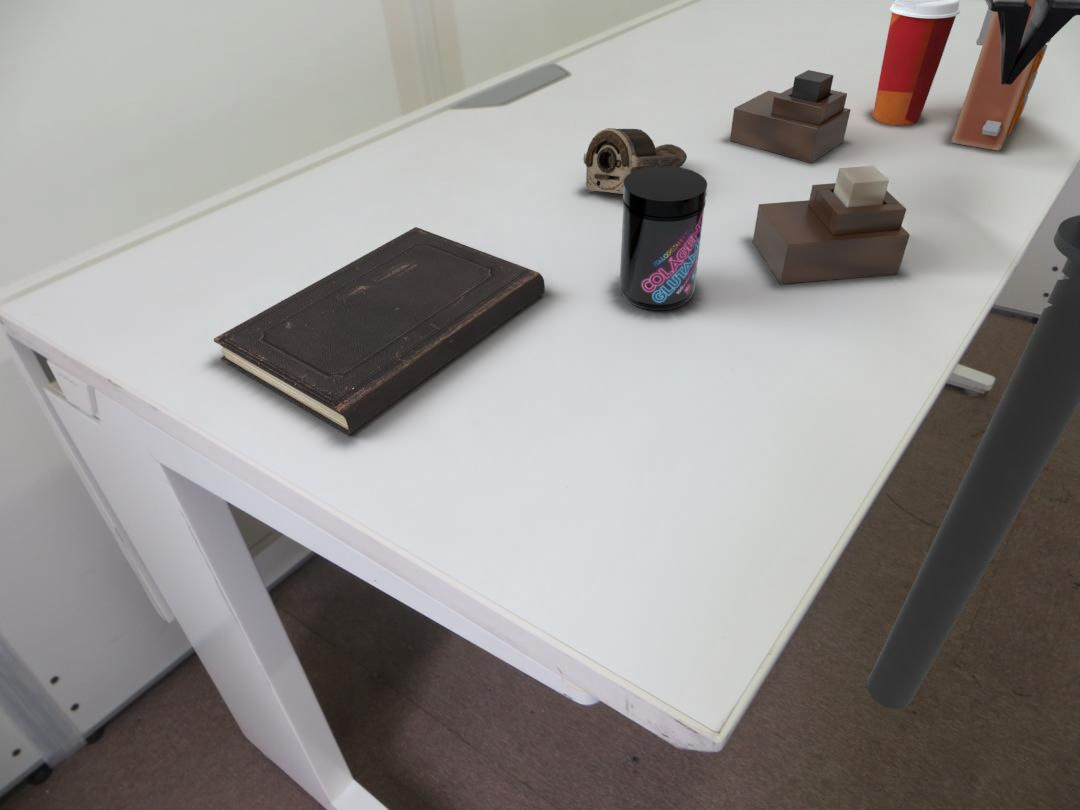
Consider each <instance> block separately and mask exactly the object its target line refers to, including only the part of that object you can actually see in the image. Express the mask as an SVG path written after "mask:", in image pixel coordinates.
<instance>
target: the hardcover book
mask: <svg viewBox="0 0 1080 810" xmlns="http://www.w3.org/2000/svg"><path fill="white" fill-rule="evenodd" d="M545 289H546V285H545V278H544V277H543V275H542V274H541V272H538V271H536V270H533V269H530V268H528V267H525V266H523V265H520V264H517V263H514V262H511V261H509V260H506V259H504V258H501V257H498V256H495V255H492V254H490V253H487V252H485V251H482V250H479V249H477V248H474V247H471V246H469V245H465V244H463V243H460V242H457V241H455V240H453V239H451V238H446V237H445V236H441V235H439V234H436V233H433V232H431V231H428V230H425V229H422V228H419V227H417V226H414V227H413V228H412V229H409V230H408V231H406V232H403V233H402V234H400V235H398V236H396V237H395V238H393V239H391V240H389V241H387V242H386V243H384V244H382V245H380V246H379V247H377V248H375V249H373V250H371V251H369V252H368V253H366V254H364V255H362V256H360V257H359V258H357V259H355V260H353V261H351V262H350V263H348V264H346V265H345V266H342V267H341V268H339V269H337V270H336V271H333V272H332V273H330V274H328V275H326V276H324V277H322V278H321V279H318V280H317V281H315V282H313V283H312V284H310V285H308V286H306V287H305V288H303V289H301V290H299V291H297V292H295V293H293V294H292V295H290V296H288V297H286V298H285V299H283V300H281V301H279V302H277V303H275V304H274V305H272V306H270V307H268V308H267V309H265V310H263V311H261V312H259V313H258V314H255V315H253V316H252V317H250V318H248V319H246V320H244V321H243V322H241V323H238V324H237V325H236V326H234V327H232V328H230V329H228V330H226V331H225V332H223V333H221V334H220V335H218V336H216V337H214V338H213V342H214V343H216V344H217V345H219V346H221V350H220V351H221V352H222V353H223V354H224V356H222V357H220V360H221V361H222V362H223V363H225V364H227V365H229V366H230V367H232V368H234V369H235V370H237V371H238V372H240V373H242V374H244V375H246V376H247V377H249V378H250V379H252V380H254V381H256V382H257V383H259V384H261V385H262V386H264V387H265V388H267V389H269V390H271V391H272V392H274V393H276V394H277V395H279V396H281V397H282V398H284V399H286V400H288V401H289V402H291V403H292V404H294V405H295V406H298V407H299V408H300V409H302V410H304V411H306V412H308V413H309V414H311V415H313V416H314V417H316V418H318V419H320V420H321V421H323V422H324V423H326V424H328V425H329V426H331V427H332V428H334V429H336V430H338V431H340V432H341V433H343V434H345V435H351V434H352V433H354V432H355V431H356V430H358V429H359V428H361V427H362V426H363V425H364V424H366V423H367V422H368V421H370V420H372V419H373V418H374V417H375V416H377V415H379V414H380V413H381V412H382V411H384V410H385V409H387V408H388V407H389V406H390V405H392V404H394V403H395V402H396V401H397V400H399V399H400V398H402V397H403V396H404V395H406V394H407V393H409V392H410V391H411V390H412V389H414V388H415V387H417V386H418V385H420V384H421V383H423V382H424V381H425V380H426V379H428V378H429V377H430V376H432V375H433V374H435V373H436V372H437V371H439V370H440V369H441V368H443V367H444V366H445V365H447V364H448V363H450V362H452V360H454V359H455V358H457V357H458V356H459V355H461V354H462V353H464V352H465V351H466V350H468V349H469V348H471V347H472V346H473V345H474V344H476V343H477V342H479V341H480V340H481V339H483V338H485V336H487V335H488V334H490V333H491V332H493V331H494V330H495V329H496V328H498V327H499V326H501V325H502V324H503V323H505V322H507V321H508V320H509V319H510V318H511V317H514V315H515V314H517V313H518V312H520V311H521V310H523V309H524V308H526V306H528V305H530V304H531V303H533V301H535V300H536V299H537V298H539V297H541V296H542V295H544V294H545V291H546V290H545Z"/></svg>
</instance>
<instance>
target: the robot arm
mask: <svg viewBox="0 0 1080 810" xmlns="http://www.w3.org/2000/svg"><path fill="white" fill-rule="evenodd" d="M984 1H985V3H986V5H987V8H988V7H989V9H990V10H991V11H994V12H998V18H999V26H1000V82H1001V84H1003V85H1011V84H1012V83H1013V82H1014V81H1015V80H1016V78H1017V77H1018V76H1019V75H1020V74H1021V72H1022V71H1023V70H1024V69H1025V68H1026V67H1027V65H1028V64H1029V63H1030V62H1031V61H1032V59H1033V58H1034V57H1035V56H1036V55H1037V53H1038V52H1039V51H1040V50H1041V49H1042V48H1043V47H1044V45H1045V44H1046V45H1047V42H1048V41H1049V40H1050V39H1051V40H1052V38H1054V37H1055V35H1057V34H1058V33H1059V32H1060V31H1061V30H1062V29H1063V28H1064V27H1065V26H1066V25H1067V24H1068V23H1069V22H1070V21H1071V20H1072V19H1073V18H1074V17H1076V16H1080V0H1036V3H1035V6H1034V10H1033V13H1032V16H1031V19H1030V21H1029V23H1028V25H1027V27H1026V24H1027V21H1028V18H1029V14H1030V11H1031V6H1030V4H1029V3H1028V1H1027V0H984ZM1025 28H1026V30H1025ZM1024 31H1025V32H1024ZM1051 40H1050V41H1051ZM1048 43H1049V42H1048ZM1079 223H1080V222H1079Z"/></svg>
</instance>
